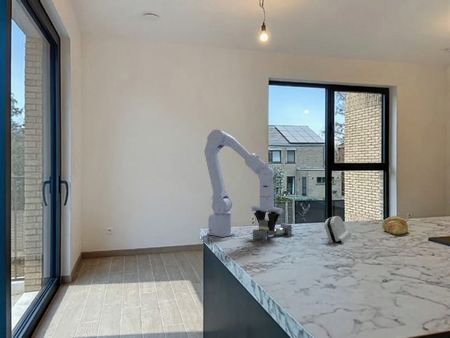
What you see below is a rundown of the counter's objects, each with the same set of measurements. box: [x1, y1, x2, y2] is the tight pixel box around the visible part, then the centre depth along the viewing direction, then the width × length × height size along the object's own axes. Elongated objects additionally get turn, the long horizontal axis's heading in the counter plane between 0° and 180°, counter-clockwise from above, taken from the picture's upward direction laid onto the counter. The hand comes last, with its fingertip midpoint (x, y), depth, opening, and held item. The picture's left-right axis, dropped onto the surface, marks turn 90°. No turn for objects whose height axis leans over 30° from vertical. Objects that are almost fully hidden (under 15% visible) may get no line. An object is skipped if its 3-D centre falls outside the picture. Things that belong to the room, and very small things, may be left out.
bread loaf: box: [381, 215, 409, 235], centre depth 156 cm, size 21×10×8 cm, turn 160°
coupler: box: [258, 218, 274, 237], centre depth 147 cm, size 5×5×6 cm
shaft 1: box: [250, 228, 270, 244], centre depth 140 cm, size 8×6×4 cm
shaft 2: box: [272, 222, 295, 237], centre depth 150 cm, size 8×6×4 cm
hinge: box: [324, 215, 352, 245], centre depth 142 cm, size 17×5×10 cm, turn 151°
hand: (266, 229), depth 147 cm, fingers closed on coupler, 4 cm apart
